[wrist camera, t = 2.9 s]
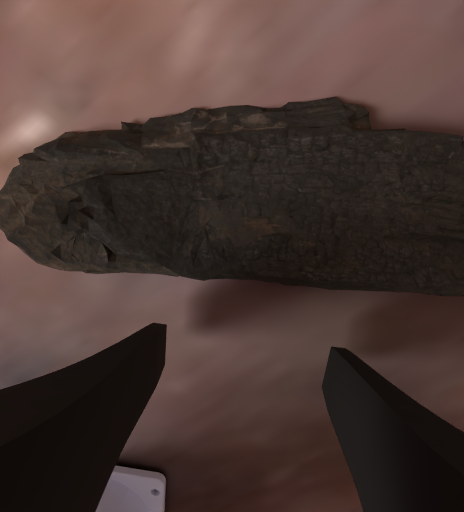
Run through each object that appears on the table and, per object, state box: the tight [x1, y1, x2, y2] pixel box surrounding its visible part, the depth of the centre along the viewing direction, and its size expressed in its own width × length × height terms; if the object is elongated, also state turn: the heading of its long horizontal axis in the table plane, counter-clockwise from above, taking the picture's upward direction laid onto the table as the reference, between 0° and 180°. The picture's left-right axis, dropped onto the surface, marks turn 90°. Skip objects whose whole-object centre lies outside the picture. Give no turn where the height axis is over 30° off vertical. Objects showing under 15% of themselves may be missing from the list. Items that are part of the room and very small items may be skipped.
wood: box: [0, 97, 464, 296], centre depth 9 cm, size 22×7×3 cm, turn 87°
